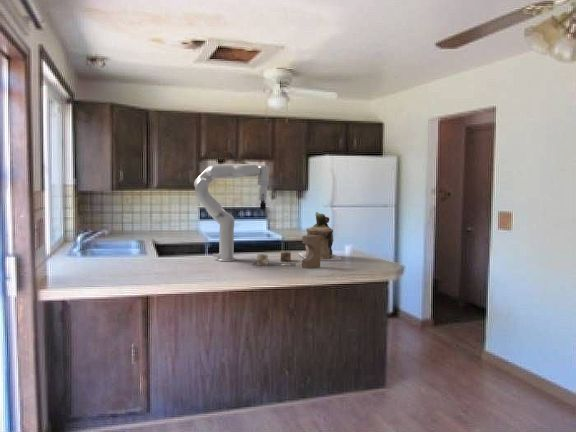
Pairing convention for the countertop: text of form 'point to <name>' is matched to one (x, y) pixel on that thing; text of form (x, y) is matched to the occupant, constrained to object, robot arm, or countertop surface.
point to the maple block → (262, 259)
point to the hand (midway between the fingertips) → (263, 208)
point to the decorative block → (312, 251)
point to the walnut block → (285, 256)
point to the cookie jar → (322, 238)
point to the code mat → (276, 264)
